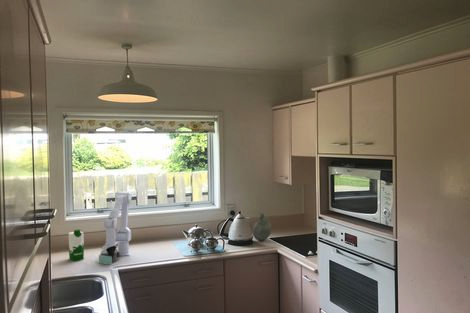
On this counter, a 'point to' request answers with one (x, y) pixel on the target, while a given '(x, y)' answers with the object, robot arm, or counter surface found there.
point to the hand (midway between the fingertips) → (111, 257)
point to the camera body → (115, 257)
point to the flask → (261, 229)
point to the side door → (105, 259)
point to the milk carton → (76, 245)
